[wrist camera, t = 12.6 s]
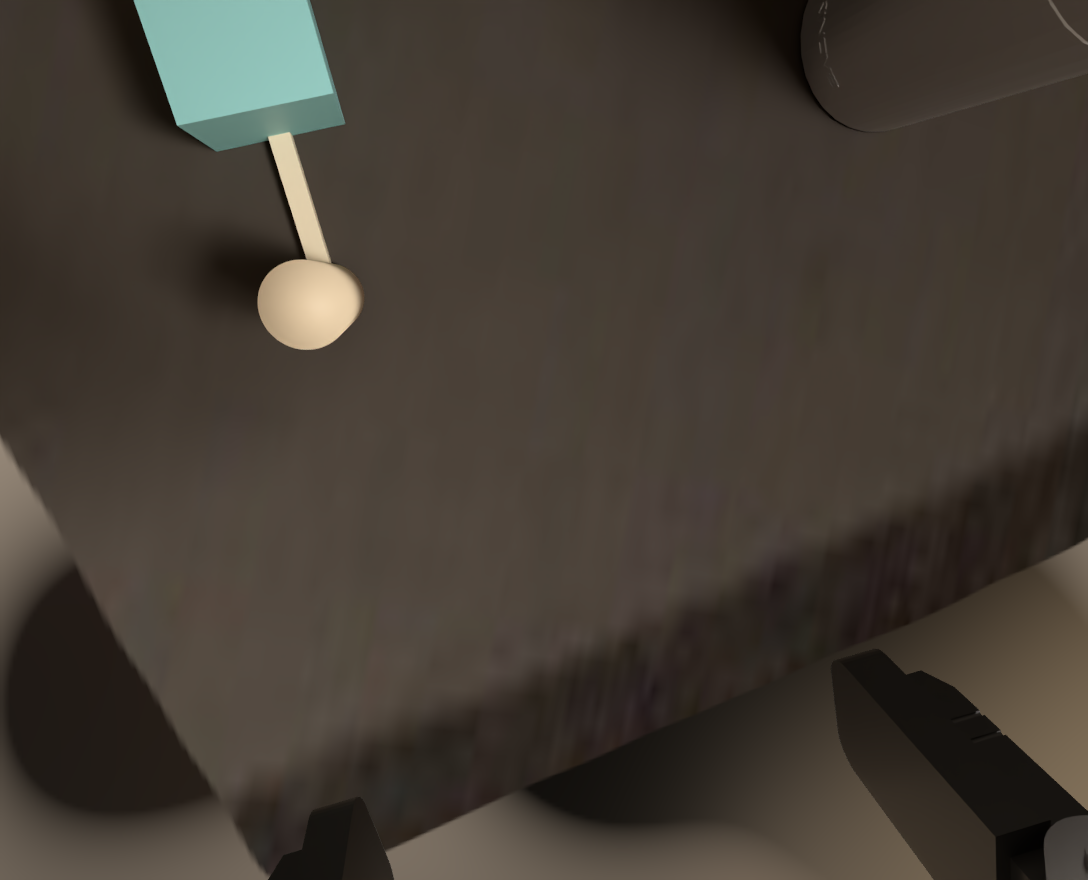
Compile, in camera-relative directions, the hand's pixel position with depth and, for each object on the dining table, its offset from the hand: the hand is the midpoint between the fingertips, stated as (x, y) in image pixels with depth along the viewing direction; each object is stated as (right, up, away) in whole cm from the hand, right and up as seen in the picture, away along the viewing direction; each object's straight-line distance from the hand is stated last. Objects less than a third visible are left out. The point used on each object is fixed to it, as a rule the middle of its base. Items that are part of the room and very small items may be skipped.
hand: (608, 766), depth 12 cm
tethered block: (-13, +18, +22) cm, 31 cm away
